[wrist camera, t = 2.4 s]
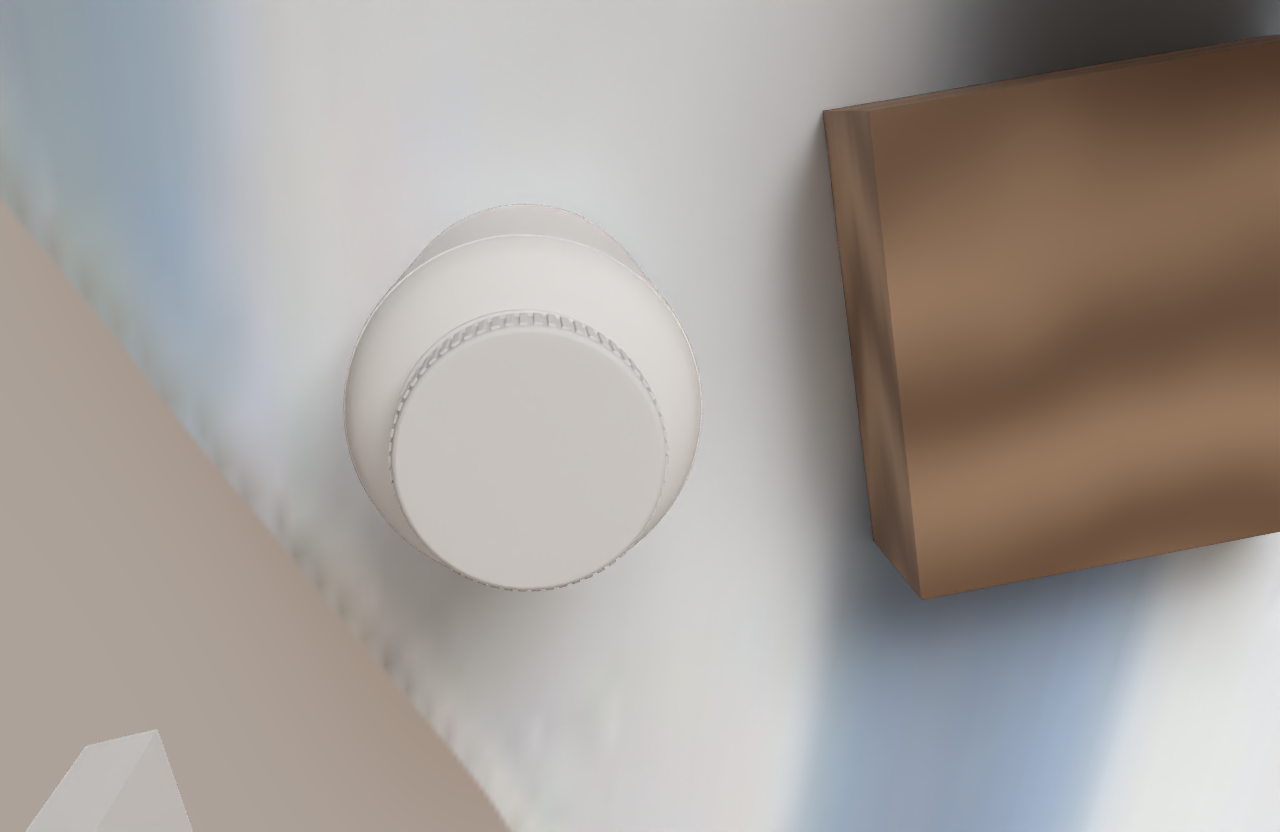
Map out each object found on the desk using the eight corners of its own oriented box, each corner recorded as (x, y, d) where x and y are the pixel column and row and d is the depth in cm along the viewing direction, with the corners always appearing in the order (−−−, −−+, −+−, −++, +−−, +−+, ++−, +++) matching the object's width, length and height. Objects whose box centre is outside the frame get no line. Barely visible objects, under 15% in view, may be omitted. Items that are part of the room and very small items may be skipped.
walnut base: (822, 111, 36) (869, 110, 31) (1266, 35, 37) (1378, 24, 32) (873, 540, 40) (921, 599, 35) (1276, 464, 40) (1378, 512, 36)
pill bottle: (650, 193, 36) (734, 247, 22) (657, 447, 38) (737, 652, 24) (385, 202, 36) (289, 264, 21) (405, 460, 38) (331, 679, 23)
